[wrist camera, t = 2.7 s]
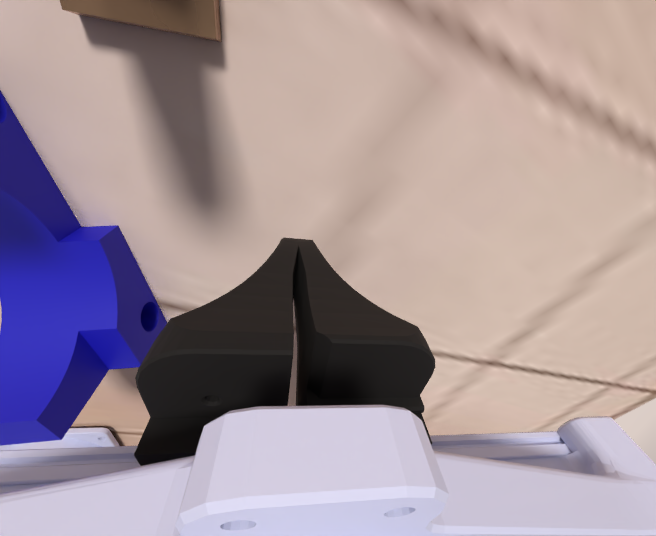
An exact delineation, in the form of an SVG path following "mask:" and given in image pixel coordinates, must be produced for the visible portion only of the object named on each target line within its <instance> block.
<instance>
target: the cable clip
mask: <svg viewBox="0 0 656 536" xmlns="http://www.w3.org/2000/svg"><path fill="white" fill-rule="evenodd" d="M0 300H1V307H2V323H1V331H0V446H2V445H12V444H23V443H33V442H44V441H54V440H62V439H63V437H64V436H65V434H66V433H67V431H68V430H69V428H70V427H71V425H72V424H73V422H74V421H75V419H76V418H77V416H78V415H79V413H80V412H81V410H82V409H83V407H84V406H85V404H86V403H87V401H88V400H89V399H90V397H91V396H92V394H93V393H94V391H95V390H96V388H97V387H98V385H99V384H100V382H101V381H102V379H103V378H104V376H105V375H106V373H107V372H108V370H110V369H122V368H135V367H140V365H141V364H142V362H143V360H144V358H145V357H146V355H147V353H148V351H149V350H150V348H151V346H152V344H153V343H154V341H155V340H156V338H157V337H158V335H159V334H160V332H161V331H162V330H163V329H164V327H165V326H166V324H167V322H166V320H165V318H164V316H163V314H162V312H161V310H160V308H159V306H158V304H157V302H156V300H155V298H154V296H153V294H152V292H151V290H150V288H149V286H148V284H147V282H146V280H145V278H144V276H143V274H142V272H141V270H140V268H139V266H138V264H137V262H136V260H135V258H134V256H133V254H132V252H131V250H130V248H129V246H128V244H127V242H126V240H125V238H124V236H123V234H122V232H121V230H120V228H119V226H95V227H81V226H80V224H79V222H78V221H77V219H76V217H75V215H74V214H73V212H72V210H71V209H70V207H69V205H68V204H67V202H66V200H65V199H64V197H63V195H62V194H61V192H60V190H59V188H58V187H57V185H56V183H55V182H54V180H53V178H52V177H51V175H50V173H49V172H48V170H47V168H46V167H45V165H44V163H43V162H42V160H41V158H40V156H39V155H38V153H37V151H36V150H35V148H34V146H33V145H32V143H31V141H30V140H29V138H28V136H27V135H26V133H25V131H24V129H23V128H22V126H21V124H20V123H19V121H18V119H17V118H16V116H15V114H14V113H13V111H12V109H11V108H10V106H9V104H8V103H7V101H6V99H5V97H4V96H3V94H2V92H1V91H0Z"/></svg>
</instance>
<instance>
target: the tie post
mask: <svg viewBox="0 0 656 536" xmlns="http://www.w3.org/2000/svg"><path fill="white" fill-rule="evenodd" d="M60 3H61V6H62V9H63V10H66V11H69V12H72V13H75V14H78V15H84V16H89V17H94V18H99V19H104V20H110V21H115V22H120V23H125V24H130V25H136V26H141V27H146V28H151V29H157V30H162V31H167V32H172V33H177V34H183V35H188V36H193V37H198V38H204V39H209V40H214V41H219V42H221V29H220V13H219V0H60Z"/></svg>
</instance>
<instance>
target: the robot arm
mask: <svg viewBox="0 0 656 536" xmlns="http://www.w3.org/2000/svg"><path fill="white" fill-rule="evenodd" d="M293 298H294V306H295V318H296V330H297V387H296V406H287V405H288V396H289V387H290V378H291V368H292V359H293V339H294V331H293ZM434 369H435V358H434V356H433V354H432V352H431V350H430V348H429V346H428V344H427V342H426V340H425V338H424V336H423V335H422V333H421V331H420V330H419V328H418V327H417V326H415V325H413V324H411V323H409V322H406V321H404V320H402V319H400V318H398V317H396V316H394V315H392V314H390V313H389V312H387V311H385V310H383V309H382V308H380V307H378V306H377V305H375V304H373V303H372V302H370V301H369V300H368V299H366V298H365V297H363V296H362V295H361V294H359V293H358V292H357V291H355V290H354V289H353V288H352V287H351V286H350V285H348V284H347V283H346V282H345V281H344V280H343V279H342V278H341V277H340V276H339V275H338V274H337V273H336V272H335V271H334V270H333V268H332V267H331V266H330V265H329V263H328V262H327V261H326V259H325V258H324V257H323V255H322V254H321V252H320V251H319V249H318V248H317V246H316V245H315V243H314V242H313V240H305V239H293V238H283V239H281V241H280V243H279V245H278V246H277V248H276V249H275V251H274V252H273V253H272V255H271V256H270V257H269V258H268V259H267V261H266V262H265V263H264V264H263V265H262V266H261V267H260V268H259V269H258V270H257V271H256V272H255V273H254V274H253V275H252V276H250V277H249V278H248V279H247V280H246V281H244V282H243V283H242V284H240V285H239V286H237V287H236V288H234V289H233V290H231V291H230V292H228V293H227V294H225V295H223V296H221V297H219V298H218V299H216V300H214V301H212V302H210V303H208V304H206V305H204V306H201V307H199V308H197V309H194V310H192V311H189V312H187V313H184V314H182V315H179V316H177V317H174V318H171V319H170V320H169V322H168V323H167V325H166V326H165V327H164V329H163V330H162V331H161V332H160V334H159V335H158V337H157V338H156V340H155V341H154V343H153V344H152V346H151V348H150V350H149V351H148V353H147V355H146V357H145V358H144V360H143V362H142V364H141V365H140V367H139V369H138V372H137V375H136V378H135V379H136V384H137V388H138V390H139V392H140V395H141V397H142V399H143V401H144V403H145V406H146V408H147V410H148V412H149V415H150V417H151V418H150V420H149V422H148V424H147V427H146V429H145V431H144V433H143V435H142V438H141V440H140V442H139V444H138V446H120V445H119V444H118V442H117V441H116V439H115V438H114V436H113V435H112V433H111V432H110V430H109V429H107V428H103V427H96V428H69V430H68V431H67V433H66V434H65V436H64V437H63V439H62V440H54V441H44V442H33V443H23V444H12V445H2V446H0V536H656V464H655V463H654V462H653V461H652V460H651V459H650V458H649V457H648V456H647V455H646V454H645V452H643V450H642V449H641V448H640V447H639V446H638V445H637V444H636V443H635V442H634V441H633V440H632V439H631V438H630V437H629V436H628V435H627V433H626V432H625V431H624V430H623V429H622V428H621V427H620V426H619V425H618V424H617V423H616V422H615V421H614V420H613V419H612V418H611V417H607V416H602V417H578V418H574V419H571V420H569V421H567V422H565V423H564V424H563V425H562V426H560V427H559V428H558V430H557V431H550V432H521V433H492V434H463V435H434V436H430V435H429V433H428V430H427V427H426V425H425V422H424V419H423V417H422V414H421V413H423V412H424V405H423V402H422V400H421V397H420V394H421V392H422V391H423V389H424V387H425V386H426V384H427V382H428V381H429V379H430V378H431V376H432V374H433V371H434Z"/></svg>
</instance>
